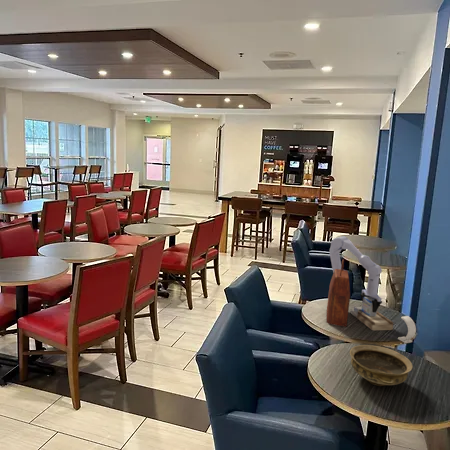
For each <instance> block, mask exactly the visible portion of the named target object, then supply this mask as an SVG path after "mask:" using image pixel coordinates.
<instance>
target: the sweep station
mask: <svg viewBox="0 0 450 450" xmlns="http://www.w3.org/2000/svg"><path fill="white" fill-rule="evenodd" d="M349 312H350V314H351V315H352V316H354V317H355V318H356V319H357V320H358V321H360V322H361V324H362V323H363V324H364V325H365V326H366V327H368V329H370V330H371V331H393V330H394V322H393V321H392V320H391V319H389V318H388V317H386V316H385V315H383V314H382V313H381V312H379V311H377V313H376V316H368V315H367V314H365V313H361V312H360V311H358V314H357V313H356V312H354V309H350V311H349Z"/></svg>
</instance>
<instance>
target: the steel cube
mask: <svg viewBox="0 0 450 450" xmlns="http://www.w3.org/2000/svg"><path fill="white" fill-rule="evenodd" d="M353 310H354V312H356V313H357V314H358V311H360V312H361V313H364V312H362V311H361V310H362V306H354V307H353Z"/></svg>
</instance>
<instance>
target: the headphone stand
mask: <svg viewBox="0 0 450 450" xmlns="http://www.w3.org/2000/svg"><path fill="white" fill-rule="evenodd" d="M400 319H401V320H403V321H404V323H405V324H406V326H407V334H406V336H405V335H404V336H399V337H398V338H397V340H399V341H401V342H403V343H404V344H410V343H413V340H412V338H414V337H415V335H416V331H417V328H416V327H417V326H416V323H415V322H414V320H413V319H412V317H410V316H409V315H403V316H401V318H400Z"/></svg>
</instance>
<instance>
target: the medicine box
mask: <svg viewBox="0 0 450 450" xmlns="http://www.w3.org/2000/svg"><path fill="white" fill-rule="evenodd" d="M372 300H375V299H373V298H372V297H364V298H363V303H361V304H362V306H361V307H362V310H361V311H362V312H364V313H365V314H367V315H368V316H376V313H377V312H378V311H377V312H372V308H373V305H372Z"/></svg>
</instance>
